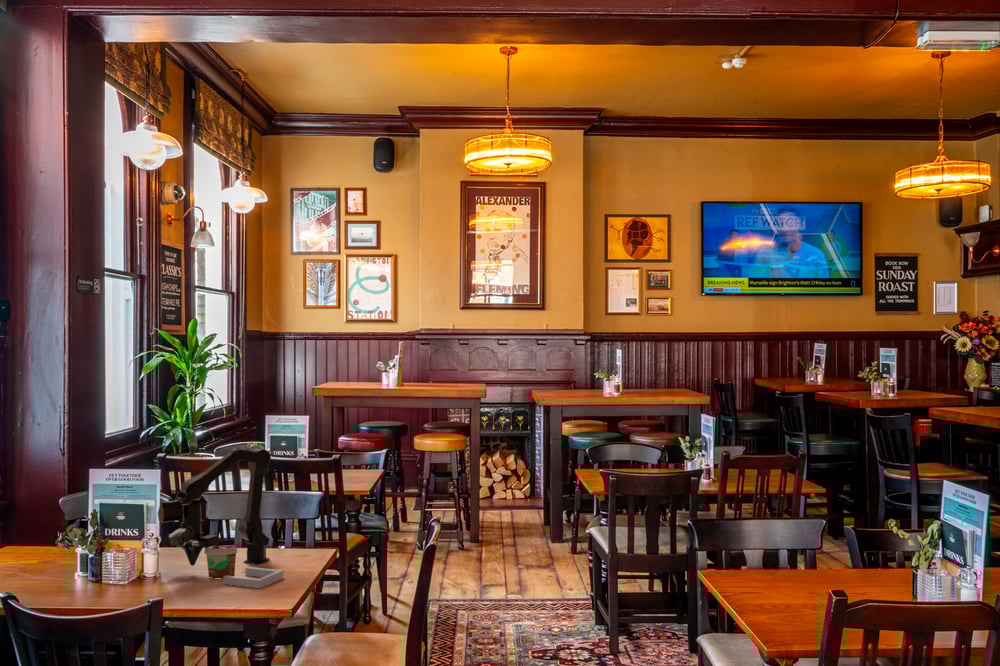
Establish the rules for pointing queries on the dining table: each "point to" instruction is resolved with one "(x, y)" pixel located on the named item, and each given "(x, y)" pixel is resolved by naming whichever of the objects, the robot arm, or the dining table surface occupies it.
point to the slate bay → (266, 574)
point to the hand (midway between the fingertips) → (192, 565)
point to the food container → (221, 561)
